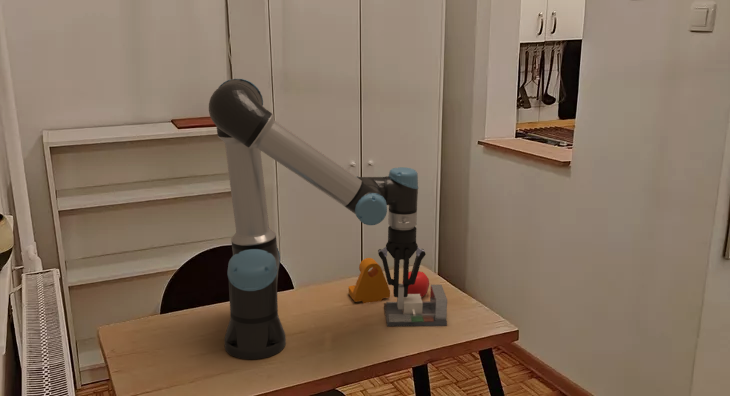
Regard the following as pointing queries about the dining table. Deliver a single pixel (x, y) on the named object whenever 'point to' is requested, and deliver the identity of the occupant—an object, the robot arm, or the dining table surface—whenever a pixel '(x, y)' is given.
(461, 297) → the dining table surface
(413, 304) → the cream block with peg
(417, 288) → the apple
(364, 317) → the dining table surface
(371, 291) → the bracket
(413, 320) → the gauge base
